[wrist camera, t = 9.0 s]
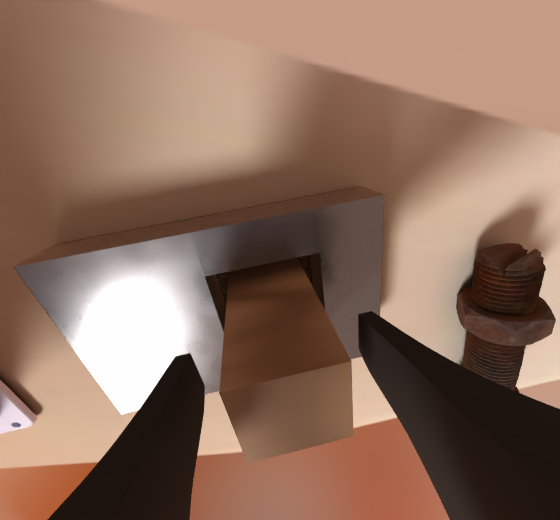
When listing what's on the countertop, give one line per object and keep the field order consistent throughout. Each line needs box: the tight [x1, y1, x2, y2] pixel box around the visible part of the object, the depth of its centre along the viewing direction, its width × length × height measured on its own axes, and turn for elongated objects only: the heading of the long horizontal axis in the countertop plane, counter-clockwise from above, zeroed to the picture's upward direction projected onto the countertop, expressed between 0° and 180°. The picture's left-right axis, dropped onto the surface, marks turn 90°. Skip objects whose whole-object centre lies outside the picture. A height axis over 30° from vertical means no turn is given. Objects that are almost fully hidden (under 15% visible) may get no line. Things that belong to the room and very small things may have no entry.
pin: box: [219, 257, 353, 463], centre depth 12 cm, size 4×4×8 cm
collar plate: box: [13, 187, 384, 414], centre depth 14 cm, size 16×10×2 cm, turn 98°
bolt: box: [456, 243, 556, 393], centre depth 18 cm, size 6×5×15 cm
